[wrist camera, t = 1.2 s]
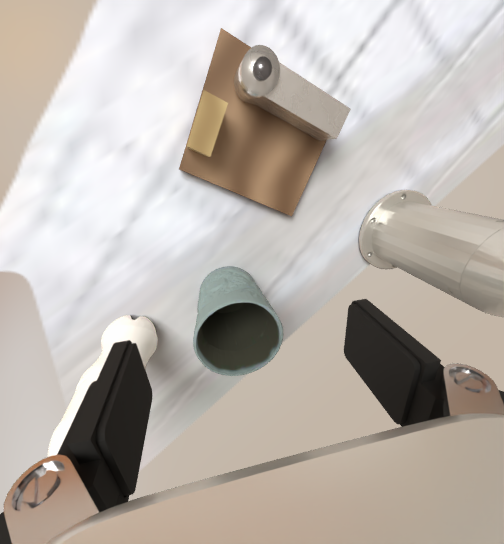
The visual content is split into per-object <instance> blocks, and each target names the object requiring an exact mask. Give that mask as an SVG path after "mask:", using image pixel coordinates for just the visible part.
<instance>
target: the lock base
mask: <svg viewBox="0 0 504 544" xmlns="http://www.w3.org/2000/svg"><path fill="white" fill-rule="evenodd" d="M249 49H251V47H250V46H248V45H246V44H245V43H243V42H242V41H240V40H239V39H237V38H236V37H234V36H233V35H231V34H229V33H228V32H226V31H225V30H223V29H222V28H221V30H220V34H219V37H218V40H217V44H216V47H215V51H214V54H213V57H212V61H211V64H210V67H209V71H208V74H207V77H206V81H205V84H204V87H203V91H202V94H201V97H200V101H199V104H198V107H197V111H196V114H195V117H194V121H193V124H192V127H191V131H190V134H189V138H188V141H187V144H186V148H185V151H184V154H183V158H182V161H181V164H180V168H179V169H180V170H182V171H185V172H187V173H189V174H192V175H194V176H197V177H199V178H201V179H204V180H206V181H208V182H211V183H213V184H216V185H218V186H220V187H223V188H225V189H228V190H230V191H232V192H235V193H237V194H240V195H242V196H244V197H247V198H249V199H251V200H254V201H256V202H259V203H261V204H263V205H266V206H268V207H271V208H273V209H275V210H278V211H280V212H283V213H285V214H287V215H290V216H292V215H293V212H294V210H295V208H296V206H297V204H298V201H299V199H300V197H301V195H302V193H303V191H304V188H305V186H306V184H307V182H308V180H309V177H310V175H311V173H312V171H313V169H314V167H315V164H316V162H317V160H318V158H319V156H320V154H321V151H322V149H323V147H324V145H325V143H326V140H323V141H319V140H317V139H315V138H314V137H312V136H310V135H308V134H307V133H305V132H303V131H301V130H299V129H298V128H296V127H294V126H292V125H291V124H289V123H287V122H285V121H283V120H282V119H280V118H278V117H276V116H275V115H273V114H271V113H269V112H268V111H266V110H264V109H262V108H260V107H259V106H257V105H255V104H248V103H245V102H244V101H242V100H241V99H240V98H239V97H238V95H237V93H236V91H235V87H234V77H235V74H236V71H237V69H238V68H239V66H240V64H241V62H242V60H243V58H244V56H245V54H246V53H247V51H248V50H249Z"/></svg>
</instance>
